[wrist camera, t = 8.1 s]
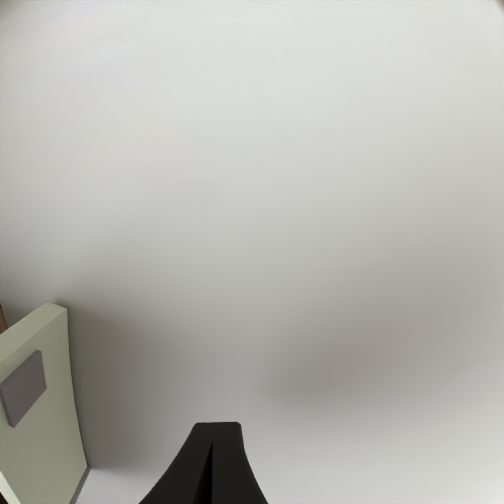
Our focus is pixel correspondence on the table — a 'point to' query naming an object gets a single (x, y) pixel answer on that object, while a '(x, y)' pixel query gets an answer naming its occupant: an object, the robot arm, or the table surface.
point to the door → (39, 412)
